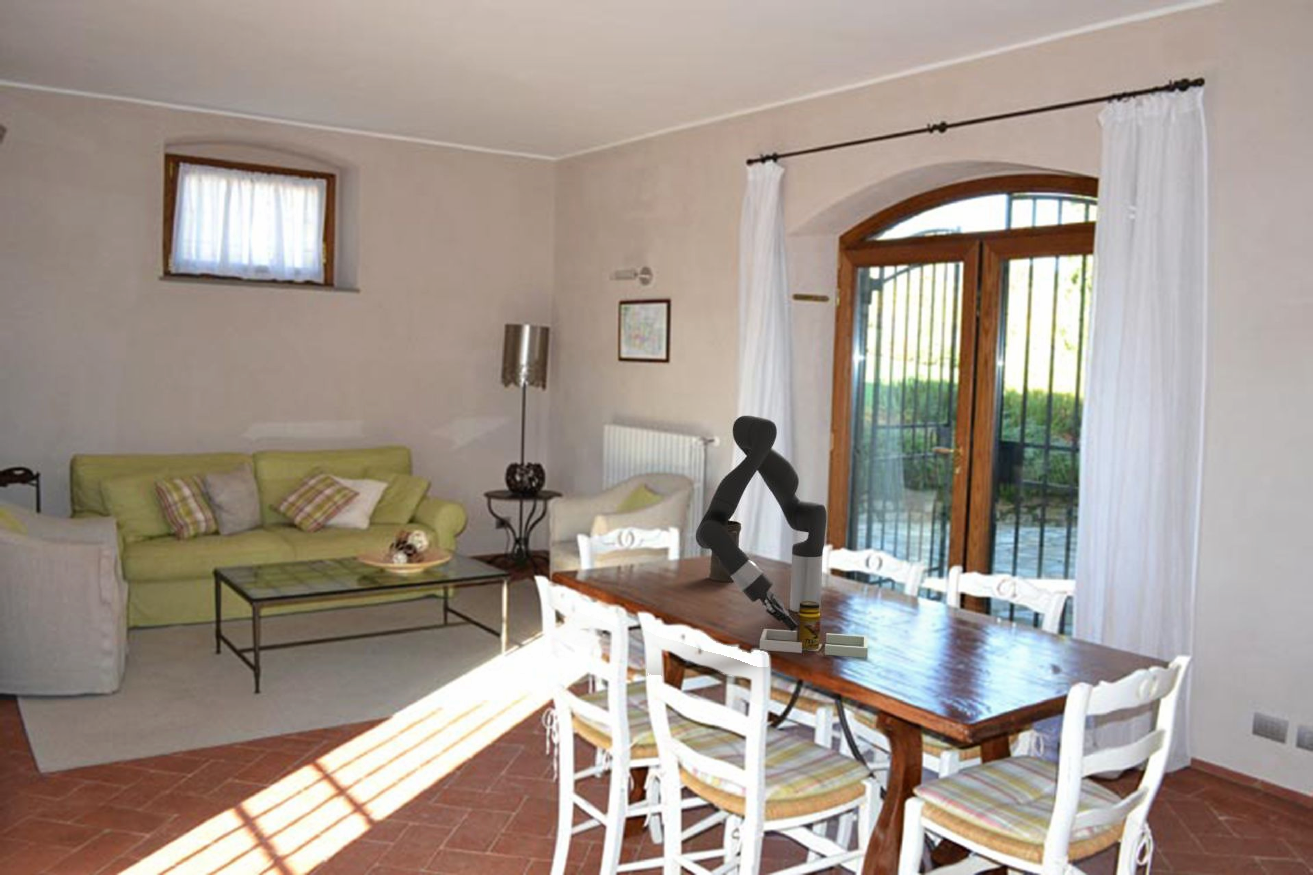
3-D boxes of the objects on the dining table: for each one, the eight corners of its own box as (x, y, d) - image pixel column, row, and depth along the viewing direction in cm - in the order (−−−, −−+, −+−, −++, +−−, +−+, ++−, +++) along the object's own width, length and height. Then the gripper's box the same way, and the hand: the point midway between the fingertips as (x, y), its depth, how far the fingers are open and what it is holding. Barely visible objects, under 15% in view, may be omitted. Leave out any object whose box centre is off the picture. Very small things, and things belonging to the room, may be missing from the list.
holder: (763, 637, 306) (764, 628, 306) (803, 640, 304) (804, 631, 304) (759, 649, 294) (759, 640, 294) (801, 652, 292) (801, 643, 292)
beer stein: (702, 575, 386) (706, 519, 383) (730, 573, 391) (733, 518, 388) (723, 588, 373) (727, 529, 370) (751, 585, 377) (755, 528, 374)
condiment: (818, 651, 293) (819, 606, 292) (786, 648, 296) (788, 603, 295) (822, 644, 300) (824, 601, 299) (791, 641, 303) (793, 598, 302)
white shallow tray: (826, 642, 303) (826, 633, 303) (867, 645, 301) (867, 636, 301) (824, 654, 291) (825, 645, 291) (867, 657, 289) (867, 648, 289)
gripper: (759, 575, 292) (804, 625, 291) (764, 566, 305) (807, 614, 304) (738, 594, 294) (782, 643, 292) (743, 584, 306) (786, 631, 305)
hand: (795, 628), depth 298 cm, fingers closed
